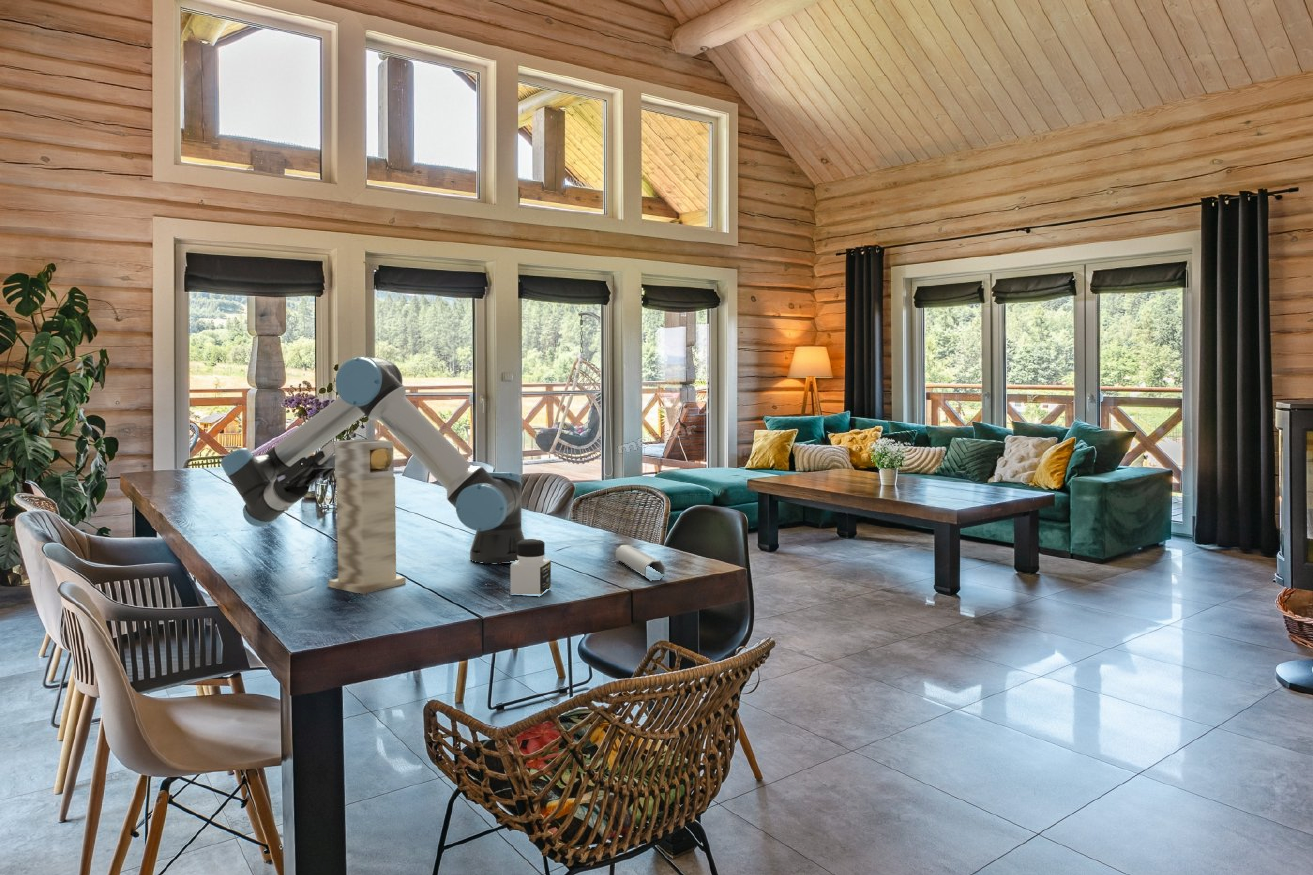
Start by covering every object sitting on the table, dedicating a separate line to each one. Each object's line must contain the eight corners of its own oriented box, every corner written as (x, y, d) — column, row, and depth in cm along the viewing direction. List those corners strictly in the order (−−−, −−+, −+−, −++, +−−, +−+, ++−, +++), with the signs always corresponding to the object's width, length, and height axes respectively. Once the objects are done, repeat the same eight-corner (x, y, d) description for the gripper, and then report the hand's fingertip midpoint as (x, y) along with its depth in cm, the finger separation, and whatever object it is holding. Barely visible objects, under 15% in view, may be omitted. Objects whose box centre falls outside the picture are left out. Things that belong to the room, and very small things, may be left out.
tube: (609, 546, 232) (641, 565, 208) (628, 539, 233) (661, 557, 210) (616, 565, 232) (648, 586, 209) (634, 557, 234) (668, 577, 211)
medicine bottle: (540, 597, 193) (540, 543, 192) (510, 595, 194) (509, 542, 193) (551, 590, 200) (551, 537, 199) (521, 588, 201) (521, 536, 200)
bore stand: (328, 586, 201) (325, 441, 198) (371, 576, 211) (369, 438, 208) (363, 594, 194) (361, 444, 192) (405, 583, 204) (404, 441, 202)
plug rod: (303, 472, 209) (302, 453, 209) (319, 470, 213) (318, 452, 213) (376, 469, 195) (375, 449, 195) (392, 467, 199) (391, 448, 199)
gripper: (320, 499, 223) (374, 458, 211) (262, 507, 209) (315, 463, 197) (310, 473, 224) (363, 430, 213) (252, 479, 211) (304, 434, 199)
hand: (340, 446), depth 205 cm, fingers closed on plug rod, 3 cm apart
